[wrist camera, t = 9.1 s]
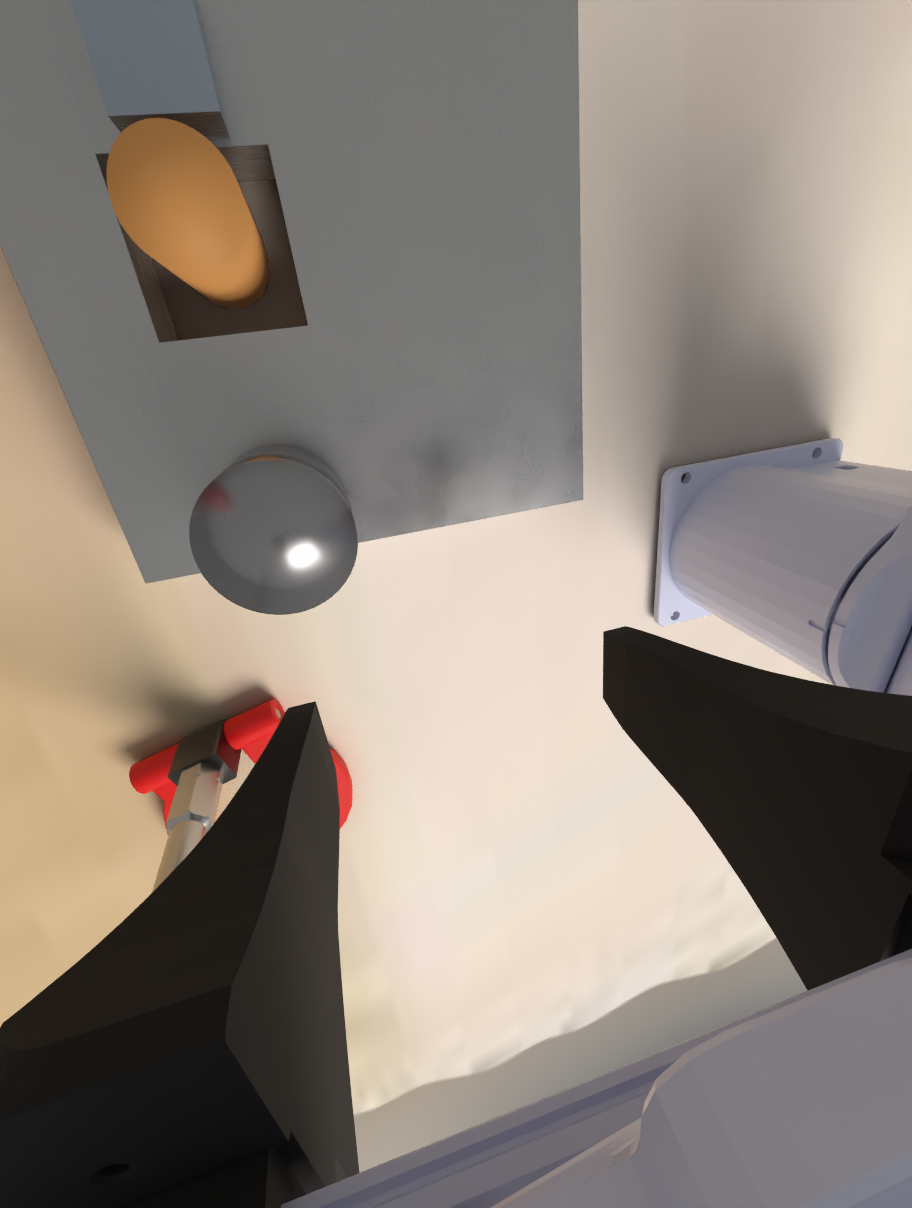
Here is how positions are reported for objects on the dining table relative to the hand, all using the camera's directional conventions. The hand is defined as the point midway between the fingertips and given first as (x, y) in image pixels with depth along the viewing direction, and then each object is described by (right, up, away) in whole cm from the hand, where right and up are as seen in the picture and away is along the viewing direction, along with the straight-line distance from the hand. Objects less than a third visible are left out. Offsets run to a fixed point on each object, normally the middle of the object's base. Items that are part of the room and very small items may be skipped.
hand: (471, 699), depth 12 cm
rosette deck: (-5, +12, +5) cm, 14 cm away
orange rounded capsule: (-8, +13, +4) cm, 16 cm away
